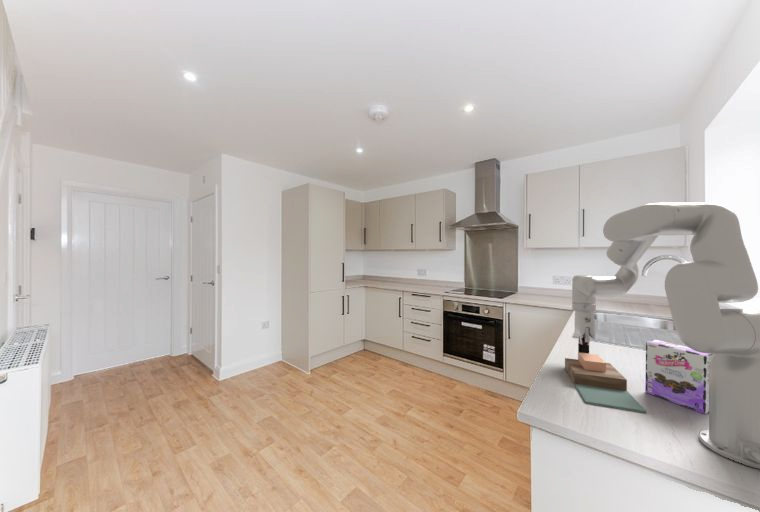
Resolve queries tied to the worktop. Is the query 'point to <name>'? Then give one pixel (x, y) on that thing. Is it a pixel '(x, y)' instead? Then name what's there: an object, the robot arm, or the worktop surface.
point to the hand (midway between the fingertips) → (583, 354)
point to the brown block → (595, 376)
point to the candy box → (678, 374)
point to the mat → (609, 398)
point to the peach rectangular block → (591, 362)
